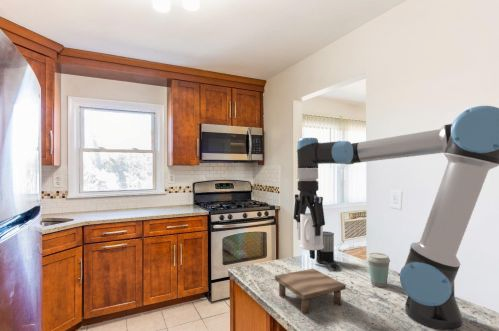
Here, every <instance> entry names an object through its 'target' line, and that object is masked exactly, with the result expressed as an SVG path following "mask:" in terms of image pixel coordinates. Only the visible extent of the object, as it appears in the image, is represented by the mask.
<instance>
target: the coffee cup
mask: <svg viewBox="0 0 499 331" xmlns="http://www.w3.org/2000/svg"><path fill="white" fill-rule="evenodd" d="M366 259H367V261H368V270H369V276H370V283H371V285H372V286H374V287H377V288H386V287H387V286H388V279H389V278H388V277H389V268H390V262H391V259H390V256H389V255H387V254H385V253H383V252H382V253H380V252H370V253H368V256H367V258H366Z"/></svg>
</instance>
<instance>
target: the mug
mask: <svg viewBox="0 0 499 331" xmlns="http://www.w3.org/2000/svg"><path fill="white" fill-rule="evenodd" d="M313 225H314V224H313V220H312V216H311V213H310V212H305V215H304V214H300V232H301V240H300V245H299V248H301V249H303V250H307V251H309V250H315V251H317V250H321V249H323V248H324V246H323V231H324V230H323V229H324V228H323V227H324V225H323V226H321V235H320V245H315V246H314V245H312V227H313Z"/></svg>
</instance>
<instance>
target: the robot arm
mask: <svg viewBox="0 0 499 331" xmlns="http://www.w3.org/2000/svg"><path fill="white" fill-rule="evenodd" d="M296 153H297V157H296V158H297V175H296V176H297V177H296V178H297V180H298V181H297V191H299V194H298V193H297V194H294V209H293V220H295V222H296V224H297V225H296V227H297V228H296V229H297V241H298V240H299V241H301V232H300V214H304V215H305V213H307V212H306V211H307V208H308V209H309V213H311V216H312V220H313V224H314V225H313V227H312V245H314V246H315V245H320V235H321V226H323V227H324V226H326V220H325V213H324V208H323V207H324V206H323V205H324V204H323V201H324V197H323V196H318V194H317V191H319V180H318V179H319V164H322V165H324V164H331V165H332V164H335V165H336V164H338V165H341V164H342V165H354V164H359V163H367V162H368V163H369V162H375V161H383V160H393V159H401V158H409V157H410V158H411V157H417V156H427V155H435V154H444V156H445V157H446V160H447V164H446V167H445V170H444V172H443V175H442V178H441V181H440V184H439V186H438V189H437V193H436V195H435V198H434V201H433V204H432V206H431V209H430V212H429V215H428V217H427V220H426V223H425V227H424V229H423V232H422V234H421V237H420V241H417V242H412V243H411V244H410V247H409V252H408V255H407V258H406V262H405V263H404V266H403V267H402V268H401V270H400V273H399V283H400V286H401V287H402V290H403V291H404V292H405V294H406V295H407V298H406V301H405V306H404V308H405V309H404V310H405V314H406V315H407V317H409V318H410V319H411V320H413V321H415V322H417V323H419V324H421V325H423V326H426V327H430V328H433V329H436V330H437V329H438V330H446V331H453V330H454V331H455V330H458V329H461V328H462V327H463V317H462V316H463V315H462V313H461V310H460V308H459V305H458V303H457V300H456V297H455V296H456V295H455V280H456V278H457V277H456V276H457V274H458V272H459V269H460V267H461V262H460V260H459V258H458V257H457V254H458V251H459V249H460V246H461V243H462V241H463V238H464V236H465V232H467V231H466V230H467V227H468V225H469V223H470V220H471V218H472V215H473V211H474V210H475V207H476V204H477V202H478V200H479V199H478V198H479V197H480V193H481V191H482V189H483V187H484V186H483V185H484V183H485V180H486V179H487V175H488V173H489V171H491V169H495V168H497V167H499V107H496V106H492V105H479V106H474V107H471V108H468V109H466V110H464V111H463V112H461V113H460V114H458V116H457V117H455V119H454V120H453V122H452V123H449V124H444V125H442V127H441V128H438V129H433V130H426V131H420V132H416V133H415V132H414V133H408V134H403V135H396V136H390V137H384V138H378V139H372V140H365V141H364V140H363V141H360V142H354V143H352V142H350V141H349V140H346V141H345V140H344V141H343V140H337V141H329V142H328V141H327V142H319V139H318V138H317V137H302V138H299V139H297V148H296Z"/></svg>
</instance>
